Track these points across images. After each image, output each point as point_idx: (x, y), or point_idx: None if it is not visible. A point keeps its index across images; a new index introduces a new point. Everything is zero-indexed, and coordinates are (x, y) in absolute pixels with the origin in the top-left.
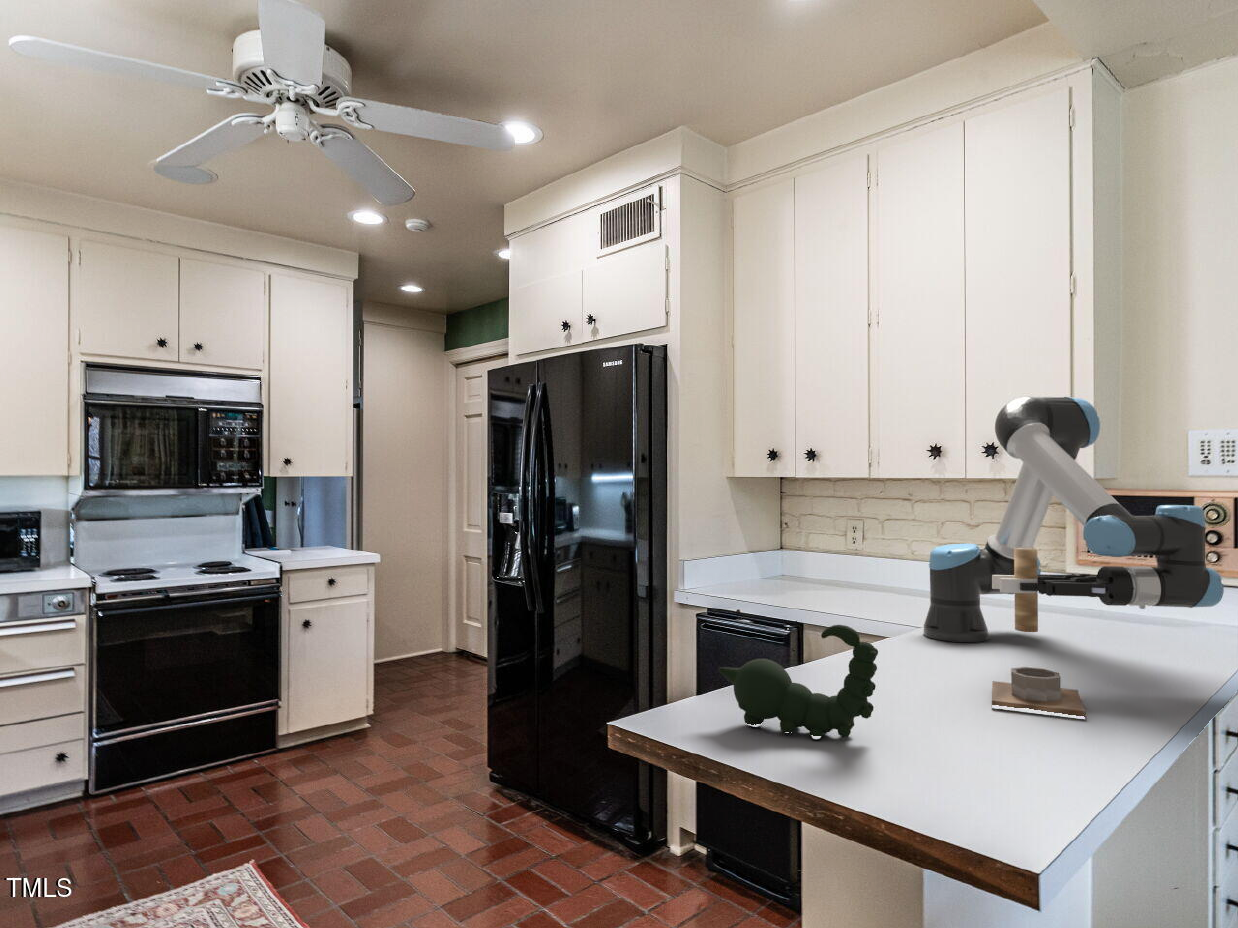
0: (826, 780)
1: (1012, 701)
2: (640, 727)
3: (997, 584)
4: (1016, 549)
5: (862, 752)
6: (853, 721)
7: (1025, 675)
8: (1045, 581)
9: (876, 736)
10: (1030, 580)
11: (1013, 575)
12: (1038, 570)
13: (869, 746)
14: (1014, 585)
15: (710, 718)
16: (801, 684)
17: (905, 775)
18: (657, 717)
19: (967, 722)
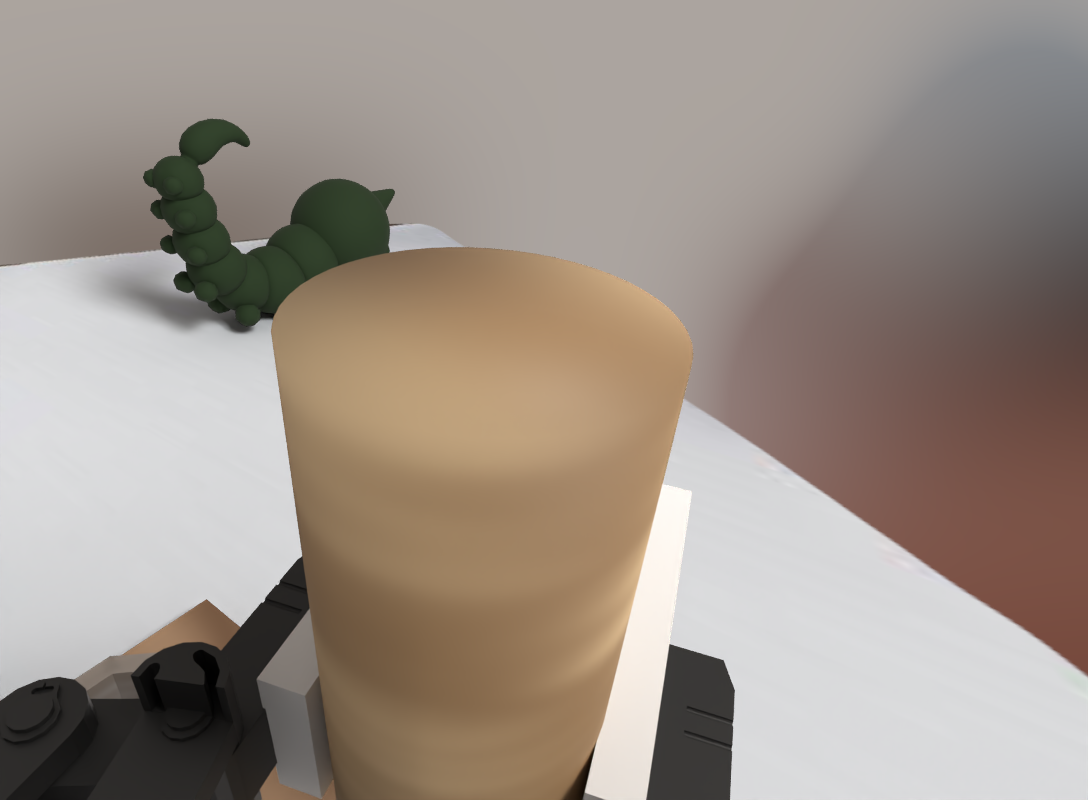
0: (122, 272)
1: (152, 651)
2: (405, 230)
3: None
4: (492, 253)
5: (171, 321)
6: (238, 314)
7: (123, 668)
8: (131, 733)
9: (217, 355)
10: (306, 620)
11: (654, 644)
12: None
13: (185, 334)
14: None
15: None
16: (297, 233)
17: (54, 320)
18: (438, 243)
19: (167, 501)
